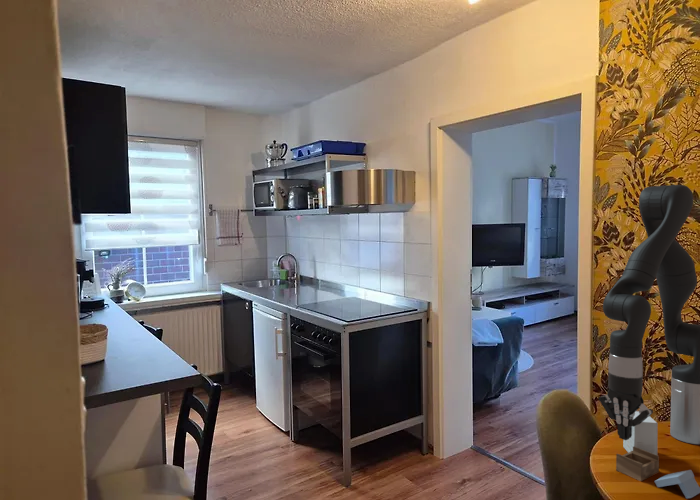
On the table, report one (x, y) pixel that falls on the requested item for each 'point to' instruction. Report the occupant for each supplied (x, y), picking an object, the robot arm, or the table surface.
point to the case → (638, 464)
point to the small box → (643, 436)
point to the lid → (681, 482)
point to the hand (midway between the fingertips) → (624, 438)
